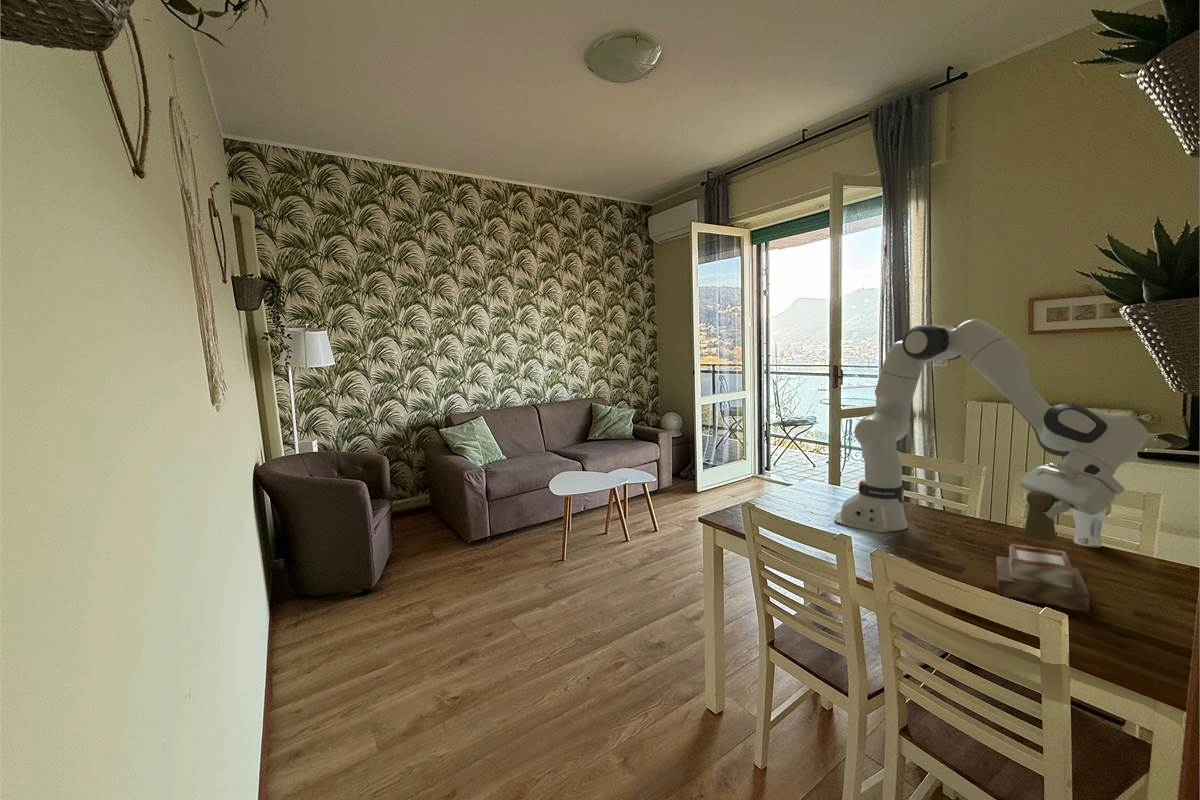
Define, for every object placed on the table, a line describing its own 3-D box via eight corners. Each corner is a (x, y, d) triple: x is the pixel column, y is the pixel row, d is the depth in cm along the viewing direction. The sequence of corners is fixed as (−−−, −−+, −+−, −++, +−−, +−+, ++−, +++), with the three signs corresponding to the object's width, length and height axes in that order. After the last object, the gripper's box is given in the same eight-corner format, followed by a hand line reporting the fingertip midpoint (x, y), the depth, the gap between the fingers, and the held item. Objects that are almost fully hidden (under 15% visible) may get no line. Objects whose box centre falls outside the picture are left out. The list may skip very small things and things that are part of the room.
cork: (1062, 541, 119) (1063, 495, 118) (1033, 540, 120) (1034, 496, 119) (1045, 531, 125) (1046, 488, 124) (1018, 531, 126) (1018, 489, 125)
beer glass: (1104, 542, 148) (1105, 493, 147) (1104, 550, 143) (1106, 499, 142) (1071, 537, 153) (1073, 489, 152) (1070, 544, 148) (1072, 495, 147)
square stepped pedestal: (998, 595, 122) (998, 560, 122) (996, 570, 135) (996, 538, 134) (1088, 612, 113) (1090, 574, 112) (1077, 583, 125) (1078, 549, 125)
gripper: (1038, 454, 131) (998, 492, 132) (1110, 473, 110) (1062, 517, 112) (1056, 470, 131) (1015, 507, 133) (1132, 491, 110) (1083, 536, 112)
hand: (1037, 512), depth 122 cm, fingers closed on cork, 4 cm apart
